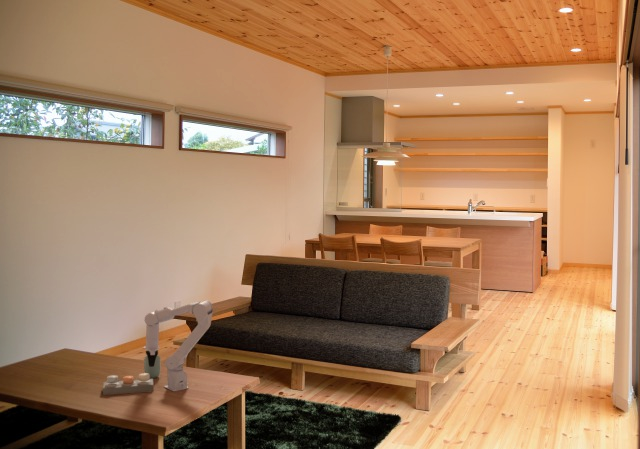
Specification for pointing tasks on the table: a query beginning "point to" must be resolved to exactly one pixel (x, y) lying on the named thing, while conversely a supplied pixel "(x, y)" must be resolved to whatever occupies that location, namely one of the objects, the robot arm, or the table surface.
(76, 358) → the table surface
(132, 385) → the console
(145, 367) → the cup
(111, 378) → the light grey button
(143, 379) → the cream button
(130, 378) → the terracotta button
